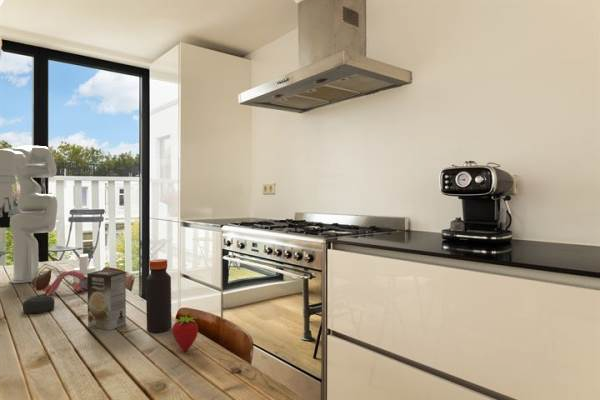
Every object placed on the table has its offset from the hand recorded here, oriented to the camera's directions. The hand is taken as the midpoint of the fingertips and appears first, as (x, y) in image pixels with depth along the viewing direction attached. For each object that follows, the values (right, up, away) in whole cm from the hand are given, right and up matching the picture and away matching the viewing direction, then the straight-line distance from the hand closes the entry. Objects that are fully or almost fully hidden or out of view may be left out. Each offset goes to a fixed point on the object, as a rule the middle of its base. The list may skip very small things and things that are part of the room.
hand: (4, 227), depth 150 cm
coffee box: (+58, -27, -36) cm, 74 cm away
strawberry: (+88, -27, -56) cm, 107 cm away
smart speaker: (+27, -27, -20) cm, 43 cm away
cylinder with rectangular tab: (+17, -27, +26) cm, 41 cm away
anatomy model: (+19, -27, +5) cm, 33 cm away
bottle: (+76, -27, -40) cm, 89 cm away
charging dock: (+27, -27, +11) cm, 39 cm away
